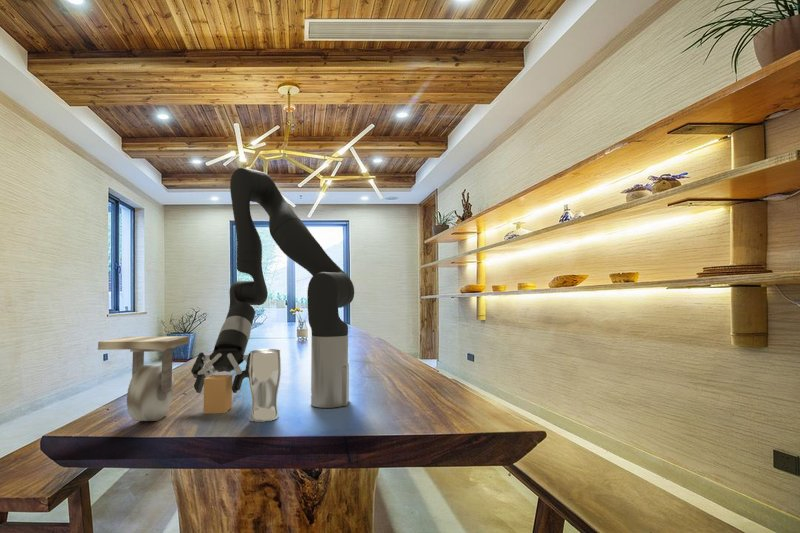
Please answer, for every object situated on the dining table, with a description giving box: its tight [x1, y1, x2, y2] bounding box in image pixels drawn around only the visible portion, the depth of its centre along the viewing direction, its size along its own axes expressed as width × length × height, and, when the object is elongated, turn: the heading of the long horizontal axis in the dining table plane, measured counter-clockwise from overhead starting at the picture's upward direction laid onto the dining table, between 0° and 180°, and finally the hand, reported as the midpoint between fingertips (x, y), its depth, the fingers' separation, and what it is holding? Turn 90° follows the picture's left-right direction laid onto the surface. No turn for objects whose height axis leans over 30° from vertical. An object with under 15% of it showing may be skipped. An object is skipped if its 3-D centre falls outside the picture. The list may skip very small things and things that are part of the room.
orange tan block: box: [202, 374, 233, 414], centre depth 105 cm, size 5×4×8 cm
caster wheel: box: [97, 335, 190, 422], centre depth 97 cm, size 14×14×18 cm
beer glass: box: [248, 348, 282, 423], centre depth 98 cm, size 7×7×15 cm
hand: (215, 391), depth 104 cm, fingers open, 8 cm apart
